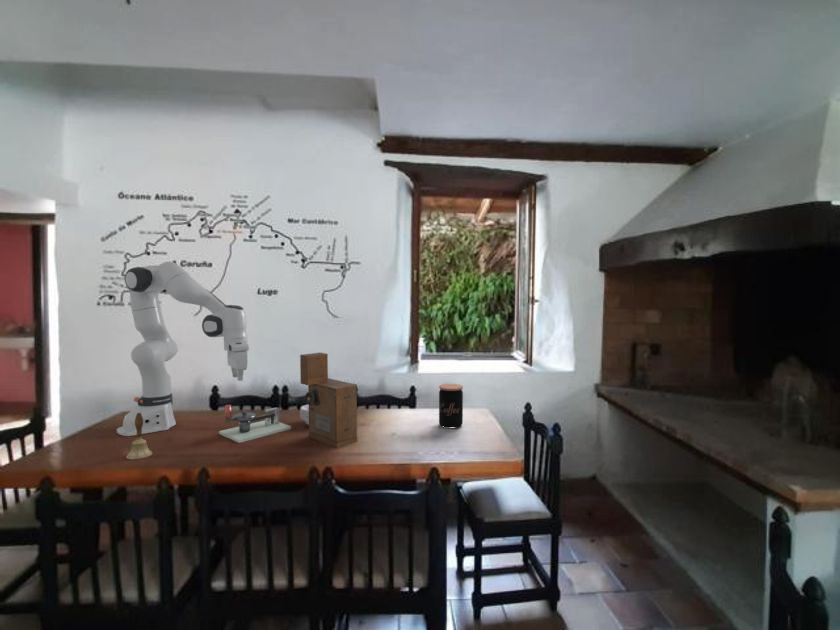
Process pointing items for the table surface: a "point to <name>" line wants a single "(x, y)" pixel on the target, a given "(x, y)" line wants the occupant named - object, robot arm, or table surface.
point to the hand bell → (139, 442)
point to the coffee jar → (450, 405)
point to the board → (254, 431)
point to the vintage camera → (328, 402)
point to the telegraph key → (245, 418)
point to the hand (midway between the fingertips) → (237, 378)
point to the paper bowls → (305, 413)
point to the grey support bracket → (277, 416)
